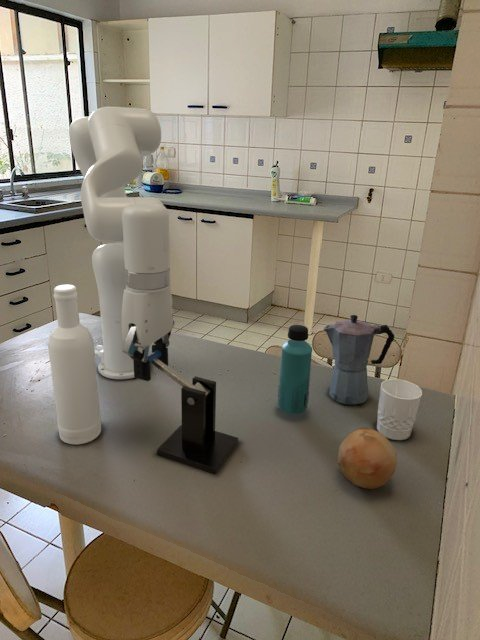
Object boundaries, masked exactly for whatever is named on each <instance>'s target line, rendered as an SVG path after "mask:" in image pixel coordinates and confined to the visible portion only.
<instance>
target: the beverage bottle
mask: <svg viewBox="0 0 480 640" xmlns="http://www.w3.org/2000/svg"><path fill="white" fill-rule="evenodd" d="M287 338H288V340H287V341H285V342H284V343H283V344H282V345H281V358H280V369H279V377H278V378H279V379H278V380H279V382H278V391H277V397H278V398H277V405H278V408H279V409H280V410H281V411H283V413H285V414H289V415H299V414H300V415H301V414H303V413H304V412H306V410H307V409H308V404H309V398H310V397H309V396H310V382H311V371H312V368H311V367H312V355H313V354H312V353H313V347H312V345H311V344H310V343H309V342H308V341H307V340H308V339H309V328H308V327H307V326H306V325H302V324H293V325H291V326H288V332H287Z"/></svg>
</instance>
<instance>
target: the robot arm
mask: <svg viewBox="0 0 480 640" xmlns="http://www.w3.org/2000/svg"><path fill="white" fill-rule="evenodd" d="M68 135H69V144H70V147H71V152H72V155H73V158H74V160H75V163H76V165H77V166H78V169H79V171H80V173H81V174H82V176H83V180H82V183H81V188H80V201H81V207H82V208H81V209H82V213H83V217H84V218H83V219H84V222H85V227H86V229H87V232H88V234H89V235H90V237H91V238H92V239H94V240H95V241H98V242H102V243H105V244H101V245H99V246H98V247H96V248H95V249H94V250H93V252H92V255H91V265H92V266H91V267H92V270H93V274H94V278H95V279H94V280H95V282H96V287H97V292H98V293H97V294H98V301H99V315H100V326H101V327H100V328H101V337H102V344H101V345H100V344H96V345H95V346H94V352H95V357H98V358H100V362H99V363H98V365H97V369H98V374H100V375H101V376H103V377H104V378H106V379H107V378H108V379H111V380H129V379H137V380H142V381H145V382H150V380H151V379H152V374H151V373H152V372H151V364H150V360H147V359H148V356H149V353H150V352H149V351H150V345H151V354H152V353H154V352H155V351H156V350H159V351H161V353H162V356H161V357H160V358H158V359H159V360H160V361H161V362H163V363H164V364H166V365H167V366H168V367H169V346H170V337H171V335H172V331H173V328H174V326H175V321H174V306H173V305H174V304H173V295H172V289H171V256H170V254H171V250H170V249H171V247H170V246H171V245H170V215H169V211H168V209H167V207H166V205H164V203H163V202H162V201H161V200H160V199H159V198H156V197H152V196H137V197H136V196H127V192H126V188H125V186H126V185H129V184H131V183H133V182H134V181H135V180H137V178H138V177H139V176H140V175H141V173H142V170H143V165H144V164H143V157H147V156H149V155H151V154H153V153H155V152H156V151H157V150H158V149H159V148H160V145H161V143H162V127H161V124H160V121H159V118H158V116H156V114H155V113H154V112H153V111H152V110H150V109H148V108H142V107H141V108H140V107H128V106H127V107H124V106H101V107H99V108H97V109H95V110H94V111H92V113H90V115H89V116H81V117H78V118H76V119H74V120H72V122H71V123H70V125H69V130H68ZM108 242H109V243H108Z"/></svg>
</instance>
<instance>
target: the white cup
mask: <svg viewBox="0 0 480 640" xmlns="http://www.w3.org/2000/svg"><path fill="white" fill-rule="evenodd" d="M422 396H423V390H422V388H420V386H419V385H417V384H416V383H413V382H411V381H408V380H405V379H401V378H389V379H385V380H383V381H382V382H381V383H380V388H379V396H378V397H379V398H378V406H377V416H376V417H377V421H376V431H378V432H379V433H381V434H382V435H384V436H385V437H386V438H387V439H388V440H389V439H390V440H392V441H404V440H407V439H409V438H410V437H411V434H412V430H413V427H414V424H415V422H416V418H417V415H418V411H419V408H420V404H421V400H422Z"/></svg>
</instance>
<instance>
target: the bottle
mask: <svg viewBox="0 0 480 640" xmlns="http://www.w3.org/2000/svg"><path fill="white" fill-rule="evenodd" d="M78 297H79V294H78V291H77V287H76V286H75V285H73V284H69V283H68V284H65V283H64V284H59V285H57V286H55V287H54V288H53V298H54V302H55V311H56V319H57V325H56V326H55V327H54V328H53V329H52V331H51V332H50V334H49V338H48V342H47V350H48V357H49V365H50V372H51V373H50V374H51V381H52V388H53V389H52V390H53V396H54V403H55V412H56V419H57V422H56V423H57V430H58V435H59V439H60V440H61V441H62V442H63V443H66V444H68V445H83V444H84V445H85V444H87V443H90V442H92V441H93V440H95V439H97V438H98V436H100V434H101V431H102V417H101V411H100V401H99V399H100V398H99V388H98V376H97V375H98V374H97V364H96V356H95V352H94V350H95V342H94V338H93V336H92V334H91V332H90V330H89V328H88V327H86V326H85V325H84V324H82V323H81V322H80V314H79V302H78Z"/></svg>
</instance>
